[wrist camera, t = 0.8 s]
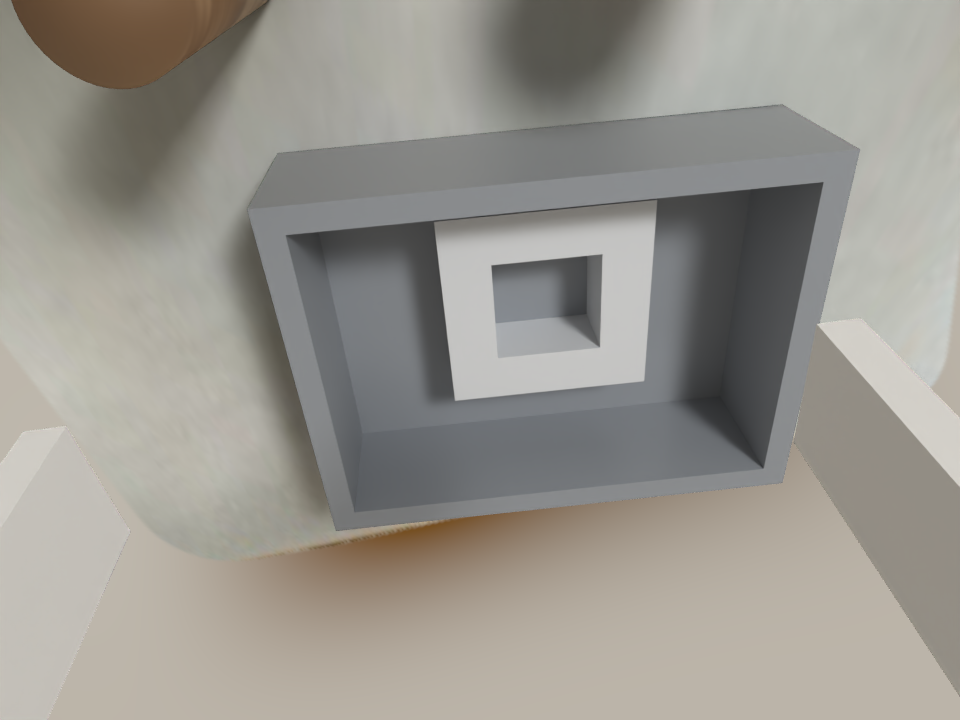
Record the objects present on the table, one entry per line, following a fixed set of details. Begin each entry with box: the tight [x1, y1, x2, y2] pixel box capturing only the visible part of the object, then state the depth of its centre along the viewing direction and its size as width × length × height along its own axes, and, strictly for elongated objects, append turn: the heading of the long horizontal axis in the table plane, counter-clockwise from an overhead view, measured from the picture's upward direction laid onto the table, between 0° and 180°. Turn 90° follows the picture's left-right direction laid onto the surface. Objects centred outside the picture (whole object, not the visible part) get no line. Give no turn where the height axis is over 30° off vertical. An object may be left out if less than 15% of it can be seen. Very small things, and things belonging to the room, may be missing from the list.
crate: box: [247, 105, 860, 531], centre depth 35 cm, size 18×24×7 cm
